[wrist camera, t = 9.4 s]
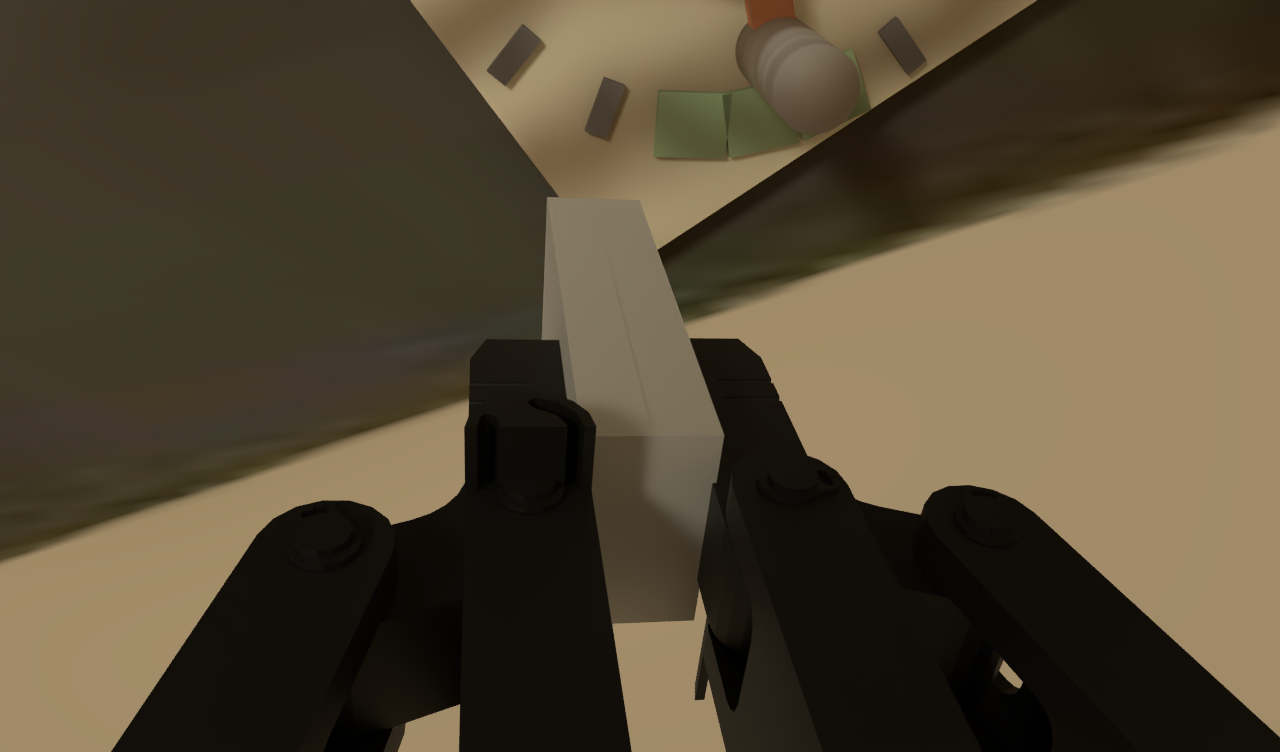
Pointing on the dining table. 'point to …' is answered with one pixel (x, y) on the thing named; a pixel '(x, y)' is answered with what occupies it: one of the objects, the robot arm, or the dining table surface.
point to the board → (676, 87)
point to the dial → (796, 68)
